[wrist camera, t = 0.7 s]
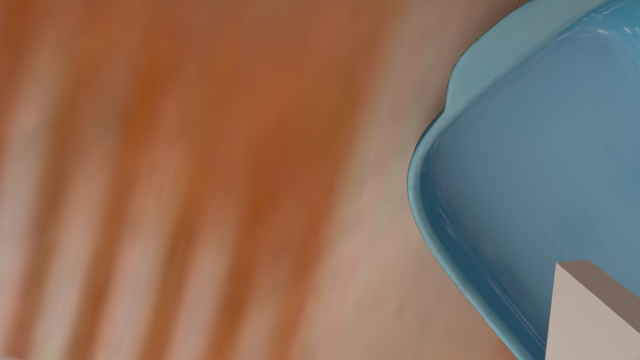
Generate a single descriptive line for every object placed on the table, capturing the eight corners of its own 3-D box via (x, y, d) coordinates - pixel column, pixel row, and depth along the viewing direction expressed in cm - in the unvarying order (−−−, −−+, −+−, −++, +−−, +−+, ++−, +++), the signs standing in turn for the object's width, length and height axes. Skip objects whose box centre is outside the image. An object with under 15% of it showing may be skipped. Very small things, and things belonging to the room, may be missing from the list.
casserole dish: (332, 129, 34) (343, 153, 27) (593, -87, 31) (679, -121, 24) (579, 425, 44) (633, 497, 37) (796, 284, 41) (898, 334, 34)
